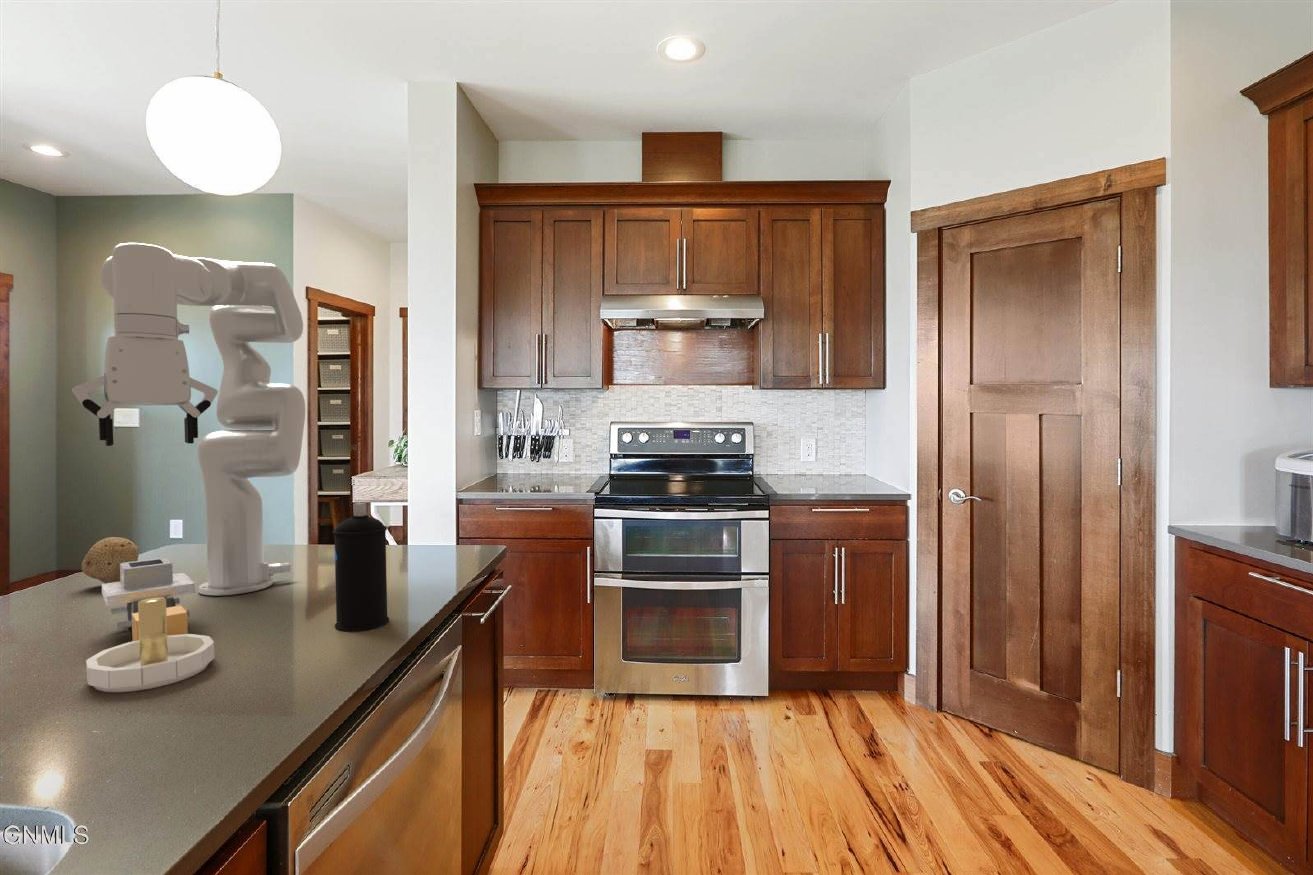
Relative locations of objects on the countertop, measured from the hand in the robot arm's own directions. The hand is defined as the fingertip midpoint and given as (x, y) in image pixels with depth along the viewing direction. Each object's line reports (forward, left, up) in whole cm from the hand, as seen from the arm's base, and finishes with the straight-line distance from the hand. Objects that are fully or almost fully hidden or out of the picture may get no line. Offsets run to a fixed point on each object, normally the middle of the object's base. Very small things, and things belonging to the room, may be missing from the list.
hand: (150, 444), depth 100 cm
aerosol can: (-26, +12, -31) cm, 42 cm away
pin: (+2, +14, -30) cm, 33 cm away
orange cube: (0, +3, -30) cm, 31 cm away
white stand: (0, -8, -30) cm, 31 cm away
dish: (+2, +14, -30) cm, 33 cm away
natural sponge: (+2, -49, -31) cm, 58 cm away
